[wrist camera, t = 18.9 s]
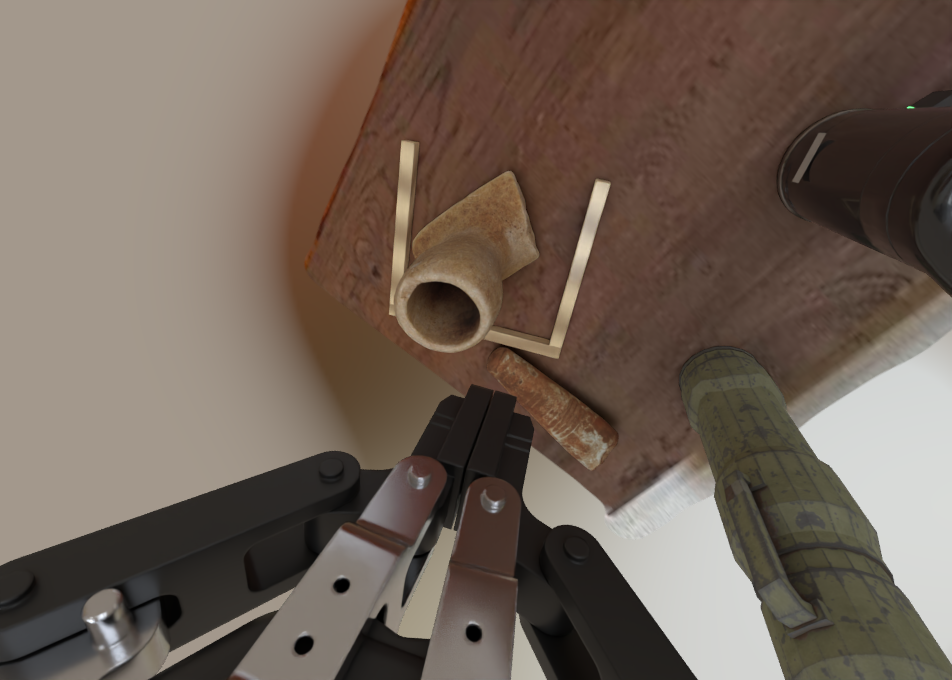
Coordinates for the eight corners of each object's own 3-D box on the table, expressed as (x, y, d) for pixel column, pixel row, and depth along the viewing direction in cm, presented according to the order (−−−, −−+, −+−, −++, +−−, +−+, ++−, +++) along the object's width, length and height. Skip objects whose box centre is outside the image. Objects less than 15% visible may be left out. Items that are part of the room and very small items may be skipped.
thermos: (735, 429, 52) (930, 855, 22) (651, 380, 52) (731, 741, 22) (794, 378, 48) (1143, 823, 17) (703, 324, 48) (895, 679, 17)
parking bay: (406, 139, 46) (401, 140, 45) (610, 181, 44) (611, 183, 42) (393, 310, 56) (388, 314, 55) (559, 353, 53) (558, 359, 52)
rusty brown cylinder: (585, 449, 59) (585, 478, 54) (482, 358, 56) (471, 380, 52) (622, 425, 56) (624, 454, 51) (514, 328, 53) (506, 348, 48)
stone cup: (458, 318, 55) (415, 380, 42) (405, 236, 51) (341, 275, 38) (566, 263, 48) (556, 315, 35) (513, 165, 45) (481, 183, 32)
